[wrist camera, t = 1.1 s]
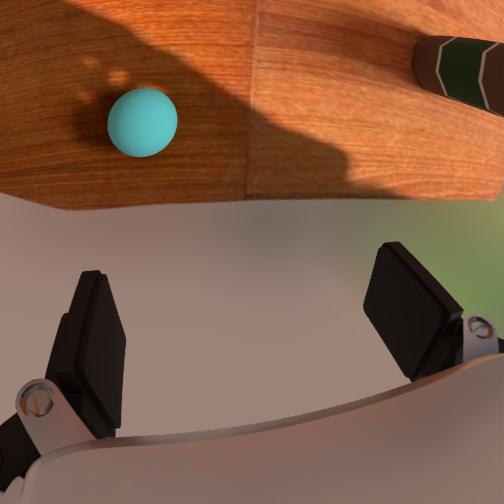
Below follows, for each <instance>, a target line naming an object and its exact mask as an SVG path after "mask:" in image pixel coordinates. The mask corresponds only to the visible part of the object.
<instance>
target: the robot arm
mask: <svg viewBox="0 0 504 504" xmlns="http://www.w3.org/2000/svg"><path fill="white" fill-rule="evenodd" d="M363 308H364V312H365V314H366V315H367V317H368V318H369V320H370V321H371V323H372V324H373V326H374V327H375V329H376V331H377V332H378V334H379V335H380V337H381V338H382V340H383V342H384V343H385V345H386V346H387V348H388V349H389V351H390V353H391V354H392V356H393V358H394V359H395V361H396V362H397V364H398V366H399V367H400V369H401V371H402V372H403V374H404V375H405V376H406V377H408V378H409V379H410V381H411V382H412V383H410V384H407V385H404V386H401V387H398V388H395V389H392V390H389V391H386V392H383V393H380V394H376V395H373V396H370V397H367V398H363V399H360V400H357V401H353V402H350V403H346V404H342V405H339V406H335V407H331V408H327V409H323V410H319V411H315V412H311V413H306V414H302V415H297V416H292V417H288V418H283V419H278V420H272V421H268V422H262V423H256V424H250V425H243V426H237V427H230V428H223V429H215V430H206V431H197V432H187V433H177V434H165V435H152V436H151V435H150V436H132V437H119V438H115V433H116V428H120V426H121V405H122V387H123V372H124V359H125V347H126V337H125V333H124V330H123V327H122V324H121V321H120V318H119V315H118V311H117V308H116V305H115V302H114V299H113V295H112V292H111V289H110V285H109V282H108V278H107V276H106V274H101V272H100V271H99V270H94V271H83V272H82V274H81V276H80V279H79V282H78V285H77V287H76V290H75V293H74V297H73V299H72V302H71V306H70V309H69V312H68V313H65V314H64V315H63V316H62V318H61V321H60V325H59V328H58V331H57V334H56V337H55V341H54V345H53V348H52V352H51V356H50V359H49V363H48V367H47V371H46V375H45V379H34V380H32V381H30V382H28V383H26V384H25V385H24V386H23V387H22V388H21V390H20V391H19V392H18V394H17V397H16V406H15V407H16V410H17V413H16V414H14V415H13V416H12V417H11V418H9V419H8V420H6V421H5V422H4V423H3V424H2V425H1V426H0V504H504V340H503V339H500V338H498V337H497V331H496V328H495V326H494V324H493V323H492V322H491V321H490V320H489V319H487V318H486V317H484V316H482V315H479V314H474V313H473V314H468V315H467V316H466V317H465V318H464V320H463V319H462V318H461V315H462V313H463V311H464V310H463V309H462V308H461V306H460V305H459V304H458V303H457V302H456V301H455V300H454V298H453V297H452V296H451V295H450V294H449V293H448V292H447V291H446V290H445V289H444V287H443V286H442V285H441V284H440V283H439V282H438V281H437V280H436V279H435V278H434V277H433V276H432V275H431V274H430V272H429V271H428V270H427V269H426V268H425V267H424V266H423V265H422V264H421V263H420V262H419V261H418V260H417V259H416V258H415V257H414V256H413V255H412V254H411V253H410V252H409V251H408V250H407V249H406V248H405V247H404V246H403V245H402V244H401V243H400V242H387V243H383V245H382V247H380V248H379V249H378V252H377V256H376V260H375V264H374V268H373V271H372V275H371V279H370V282H369V286H368V289H367V293H366V296H365V300H364V304H363ZM106 437H107V438H106Z"/></svg>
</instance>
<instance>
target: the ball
mask: <svg viewBox="0 0 504 504" xmlns="http://www.w3.org/2000/svg"><path fill="white" fill-rule="evenodd" d="M176 127H177V113H176V110H175V107H174V105H173V103H172V102H171V100H170V99H169V98H168V97H167V96H166V95H165V94H163V93H161V92H160V91H157V90H154V89H150V88H140V89H135V90H132V91H129V92H127V93H126V94H124V95H123V96H121V97H120V98H119V99H118V100H117V101H116V103H115V104H114V105H113V107H112V109H111V111H110V114H109V117H108V133H109V136H110V139H111V140H112V142H113V144H114V145H115V146H116V147H117V148H118V149H119V150H120V151H122V152H123V153H125V154H128V155H130V156H135V157H145V156H150V155H153V154H155V153H157V152H159V151H160V150H162V149H163V148H164V147H166V146H167V145H168V143H169V142H170V141H171V139H172V138H173V136H174V133H175V131H176Z"/></svg>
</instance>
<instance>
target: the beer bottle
mask: <svg viewBox="0 0 504 504" xmlns="http://www.w3.org/2000/svg"><path fill="white" fill-rule="evenodd" d="M412 68H413V70H414V72H415V74H416V77H417V79H418V81H419V83H420V85H421V87H422V88H423V89H426V90H428V91H430V92H433V93H435V94H438V95H440V96H443V97H445V98H448V99H451V100H454V101H458V102H461V103H464V104H467V105H470V106H473V107H476V108H479V109H481V110H484V111H487V112H490V113H492V114H495V115H498V116H500V117H503V118H504V44H503V43H499V42H493V41H487V40H479V39H472V38H463V37H453V36H430V37H429V38H427V39H425V40H424V41H422V42H420V43H419V44H417V45H416V46H415V51H414V57H413V63H412Z"/></svg>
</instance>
